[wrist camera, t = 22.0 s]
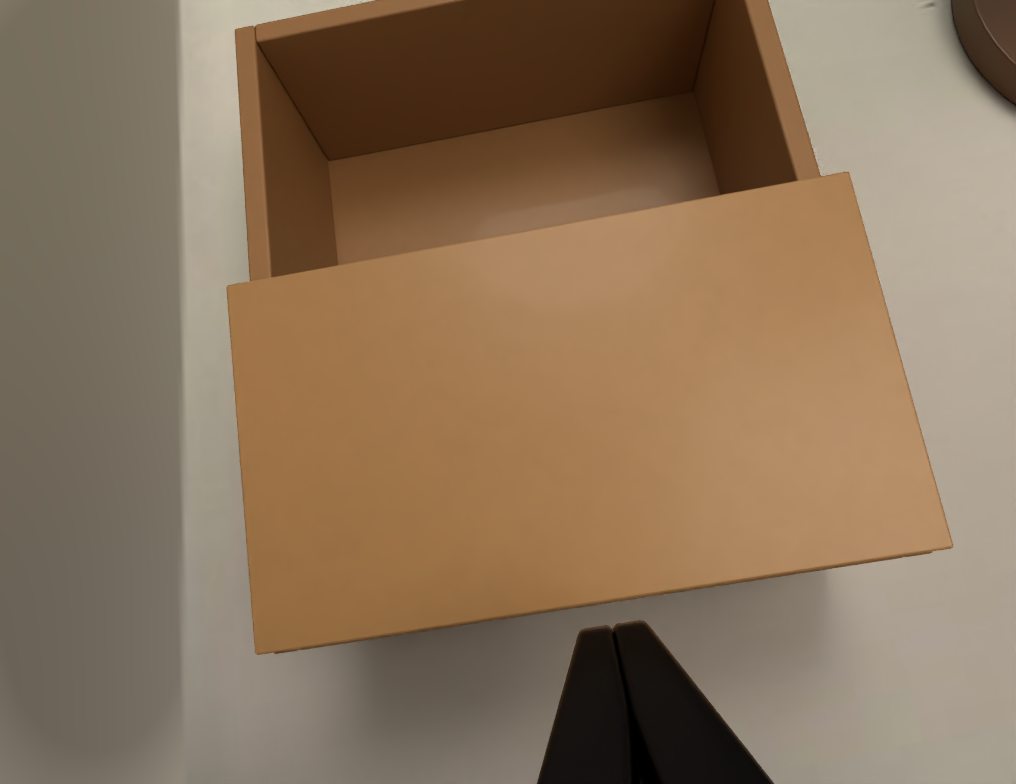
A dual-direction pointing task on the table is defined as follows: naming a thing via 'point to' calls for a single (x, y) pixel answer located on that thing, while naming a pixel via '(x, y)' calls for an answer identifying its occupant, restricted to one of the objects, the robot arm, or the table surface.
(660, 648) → the robot arm
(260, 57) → the carton
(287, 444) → the flap
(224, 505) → the table surface
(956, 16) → the desk lamp
